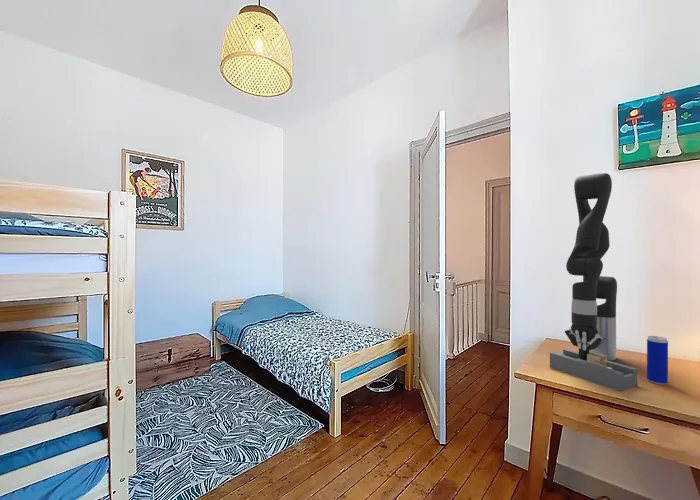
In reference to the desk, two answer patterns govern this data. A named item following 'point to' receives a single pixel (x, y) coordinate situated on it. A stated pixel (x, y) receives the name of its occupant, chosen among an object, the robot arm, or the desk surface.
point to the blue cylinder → (657, 360)
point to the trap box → (595, 370)
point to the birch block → (597, 359)
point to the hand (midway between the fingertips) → (583, 359)
